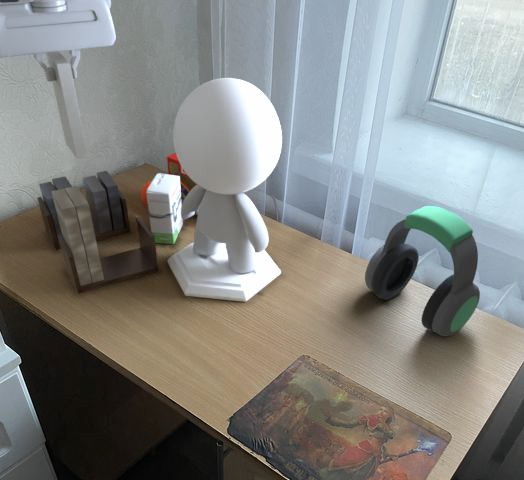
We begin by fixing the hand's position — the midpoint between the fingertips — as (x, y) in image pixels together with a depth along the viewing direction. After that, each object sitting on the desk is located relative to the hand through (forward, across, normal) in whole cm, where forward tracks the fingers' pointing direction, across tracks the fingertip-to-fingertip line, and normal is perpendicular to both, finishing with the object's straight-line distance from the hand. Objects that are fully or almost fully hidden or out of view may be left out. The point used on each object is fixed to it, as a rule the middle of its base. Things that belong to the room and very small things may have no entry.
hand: (62, 79), depth 92 cm
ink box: (+32, -14, +6) cm, 35 cm away
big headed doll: (+32, -19, +23) cm, 43 cm away
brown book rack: (+31, +1, +14) cm, 34 cm away
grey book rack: (+31, +1, -2) cm, 31 cm away
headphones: (+32, -45, +51) cm, 75 cm away
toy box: (+32, -25, +2) cm, 41 cm away
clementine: (+32, -16, -5) cm, 36 cm away
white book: (+13, 0, 0) cm, 13 cm away
